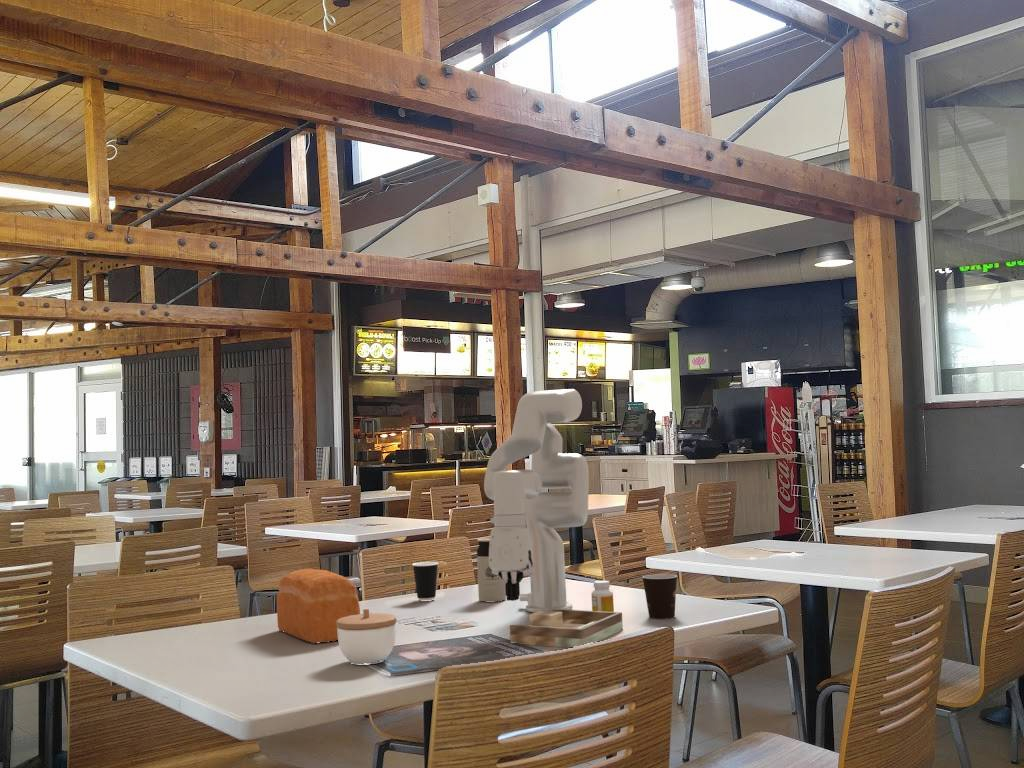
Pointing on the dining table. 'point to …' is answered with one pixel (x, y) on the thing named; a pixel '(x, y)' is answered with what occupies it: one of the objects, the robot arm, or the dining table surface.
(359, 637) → the lidded bowl
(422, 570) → the dixie cup
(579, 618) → the box
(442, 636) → the dining table surface
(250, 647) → the dining table surface
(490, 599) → the travel mug
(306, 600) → the bread
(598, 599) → the supplement bottle
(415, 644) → the dining table surface
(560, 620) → the maple block
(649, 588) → the coffee mug
